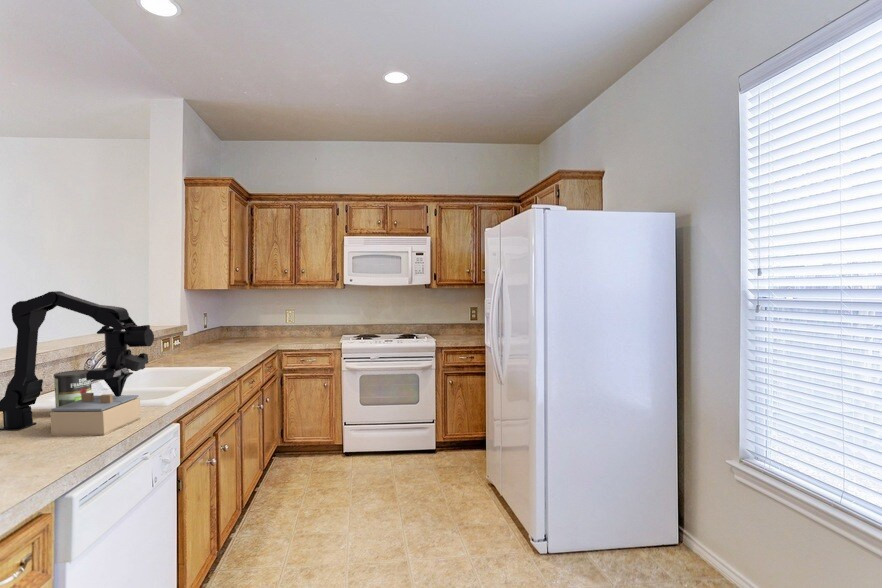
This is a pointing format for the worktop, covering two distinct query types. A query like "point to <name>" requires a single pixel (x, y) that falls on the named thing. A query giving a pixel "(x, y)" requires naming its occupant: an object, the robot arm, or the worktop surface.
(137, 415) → the carton
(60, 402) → the coffee can
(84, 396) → the lid panel
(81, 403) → the lid panel
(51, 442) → the worktop surface
